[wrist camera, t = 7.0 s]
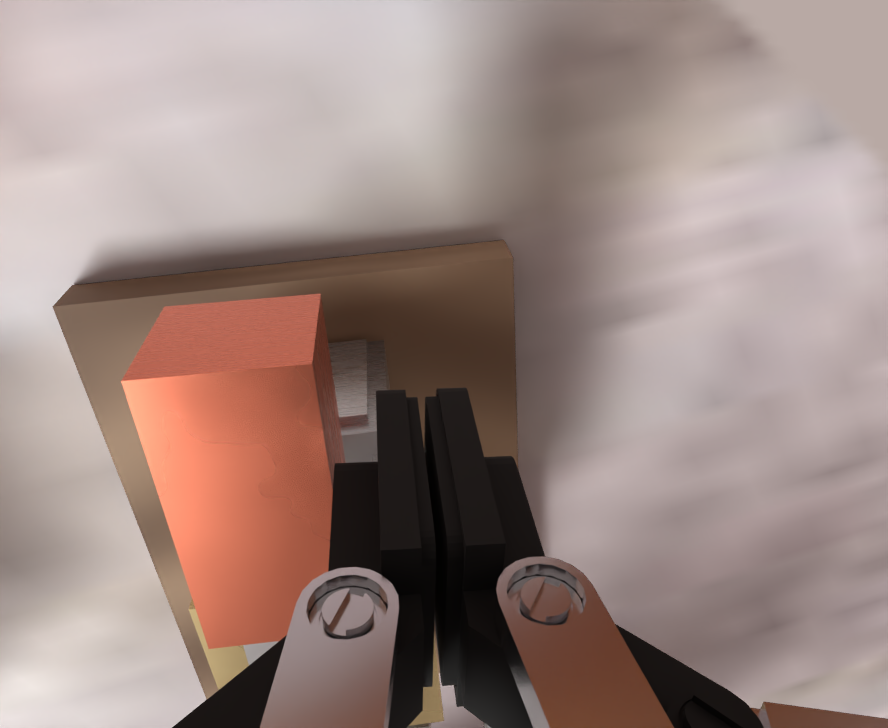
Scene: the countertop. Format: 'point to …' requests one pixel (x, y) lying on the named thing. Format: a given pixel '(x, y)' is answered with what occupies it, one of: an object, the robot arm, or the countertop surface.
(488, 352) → the board
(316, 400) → the lever
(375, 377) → the ball valve
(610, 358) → the countertop surface
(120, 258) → the countertop surface
